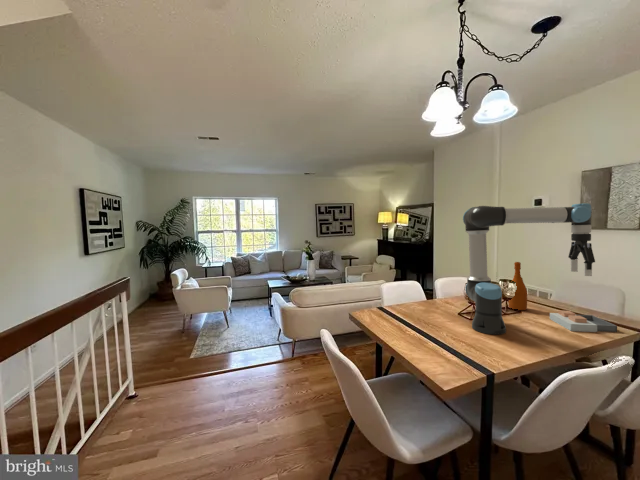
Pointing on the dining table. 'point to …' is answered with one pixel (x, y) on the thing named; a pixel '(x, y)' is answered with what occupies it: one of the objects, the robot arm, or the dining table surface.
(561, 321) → the board
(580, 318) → the tile near
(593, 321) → the tray
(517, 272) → the wine bottle
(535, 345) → the dining table surface
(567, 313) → the tile far
